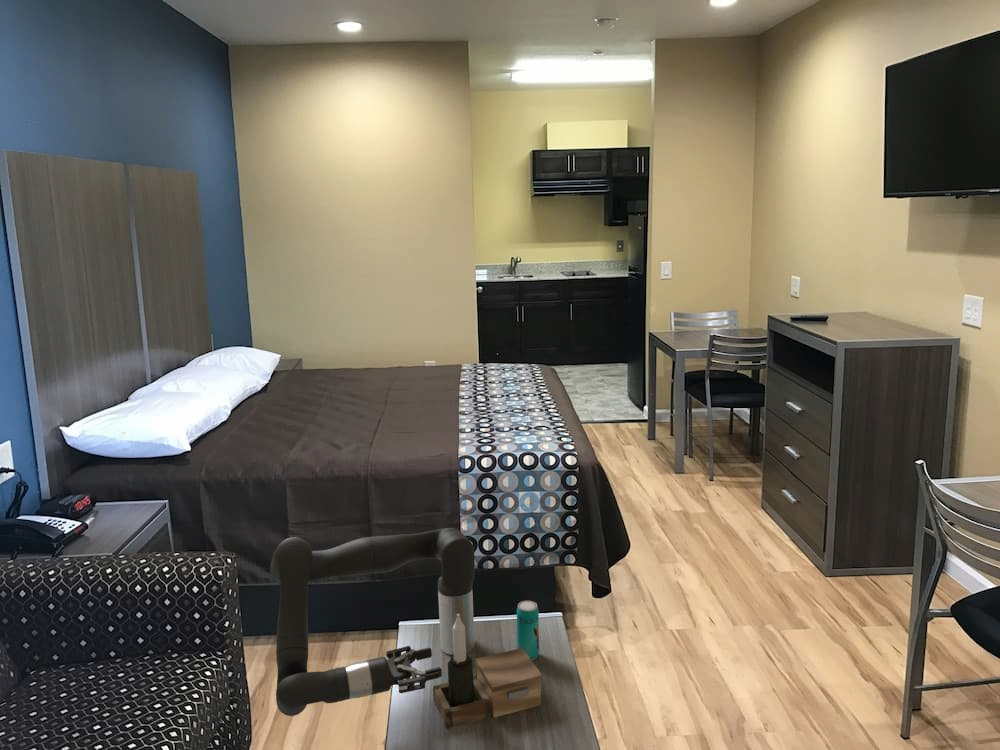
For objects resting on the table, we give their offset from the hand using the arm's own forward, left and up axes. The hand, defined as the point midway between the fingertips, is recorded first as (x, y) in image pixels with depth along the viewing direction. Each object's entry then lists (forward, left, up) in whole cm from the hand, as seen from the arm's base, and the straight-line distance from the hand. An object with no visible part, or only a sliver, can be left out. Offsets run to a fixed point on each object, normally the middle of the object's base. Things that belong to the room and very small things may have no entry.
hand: (436, 661), depth 181 cm
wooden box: (0, +12, -14) cm, 19 cm away
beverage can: (-14, +29, -14) cm, 35 cm away
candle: (0, +6, -14) cm, 15 cm away
